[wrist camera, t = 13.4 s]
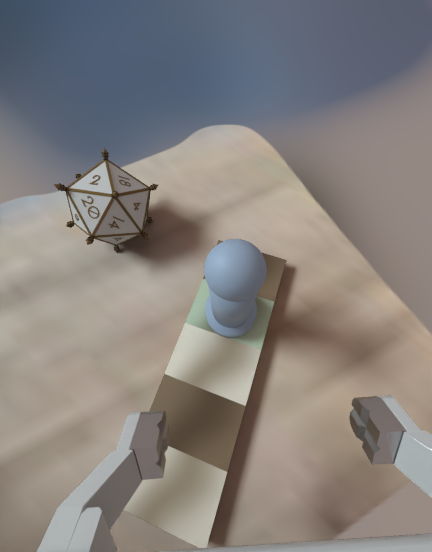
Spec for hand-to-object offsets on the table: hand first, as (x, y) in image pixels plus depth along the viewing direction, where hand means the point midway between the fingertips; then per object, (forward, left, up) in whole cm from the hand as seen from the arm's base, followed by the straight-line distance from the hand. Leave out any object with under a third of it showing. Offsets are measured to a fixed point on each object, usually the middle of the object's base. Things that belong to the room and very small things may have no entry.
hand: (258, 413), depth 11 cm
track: (-3, +2, -11) cm, 11 cm away
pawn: (-3, +6, -10) cm, 12 cm away
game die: (-17, +12, -11) cm, 24 cm away
